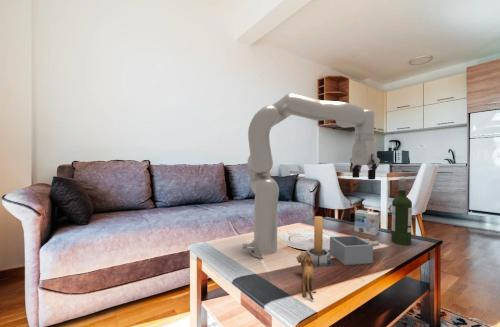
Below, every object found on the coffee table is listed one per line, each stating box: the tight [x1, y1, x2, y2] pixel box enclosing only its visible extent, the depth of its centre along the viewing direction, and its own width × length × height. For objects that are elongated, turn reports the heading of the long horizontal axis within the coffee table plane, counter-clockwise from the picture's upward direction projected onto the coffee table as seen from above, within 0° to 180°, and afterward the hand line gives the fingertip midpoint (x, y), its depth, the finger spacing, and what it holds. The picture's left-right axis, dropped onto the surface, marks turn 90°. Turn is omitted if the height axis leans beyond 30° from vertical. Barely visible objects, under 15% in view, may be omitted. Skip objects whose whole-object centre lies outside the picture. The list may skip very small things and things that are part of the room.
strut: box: [311, 215, 325, 255], centre depth 91 cm, size 5×5×16 cm
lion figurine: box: [295, 250, 317, 301], centre depth 75 cm, size 15×5×9 cm, turn 178°
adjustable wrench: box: [363, 238, 380, 247], centre depth 108 cm, size 25×6×2 cm, turn 122°
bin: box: [329, 235, 374, 266], centre depth 93 cm, size 11×11×8 cm
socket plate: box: [298, 247, 340, 268], centre depth 91 cm, size 11×11×4 cm
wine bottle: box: [390, 177, 413, 246], centre depth 115 cm, size 8×8×30 cm
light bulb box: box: [354, 209, 380, 236], centre depth 131 cm, size 11×7×11 cm, turn 50°
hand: (363, 178), depth 107 cm, fingers open, 9 cm apart
